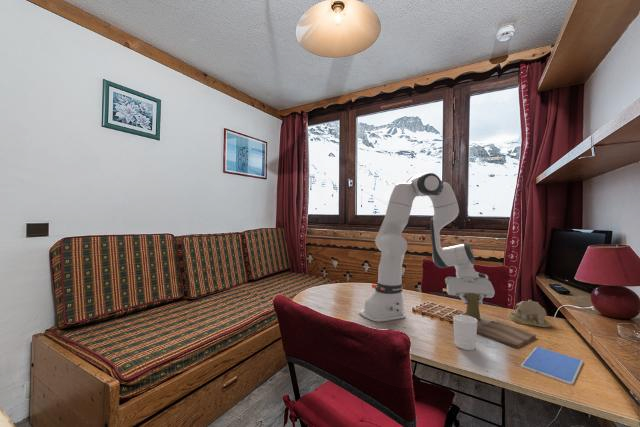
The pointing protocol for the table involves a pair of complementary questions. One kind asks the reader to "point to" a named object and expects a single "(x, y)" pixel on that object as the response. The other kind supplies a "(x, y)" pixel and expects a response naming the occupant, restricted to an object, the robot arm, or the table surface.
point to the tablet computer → (553, 365)
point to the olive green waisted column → (473, 306)
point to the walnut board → (505, 334)
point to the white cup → (465, 331)
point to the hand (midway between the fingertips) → (473, 304)
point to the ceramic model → (529, 314)
